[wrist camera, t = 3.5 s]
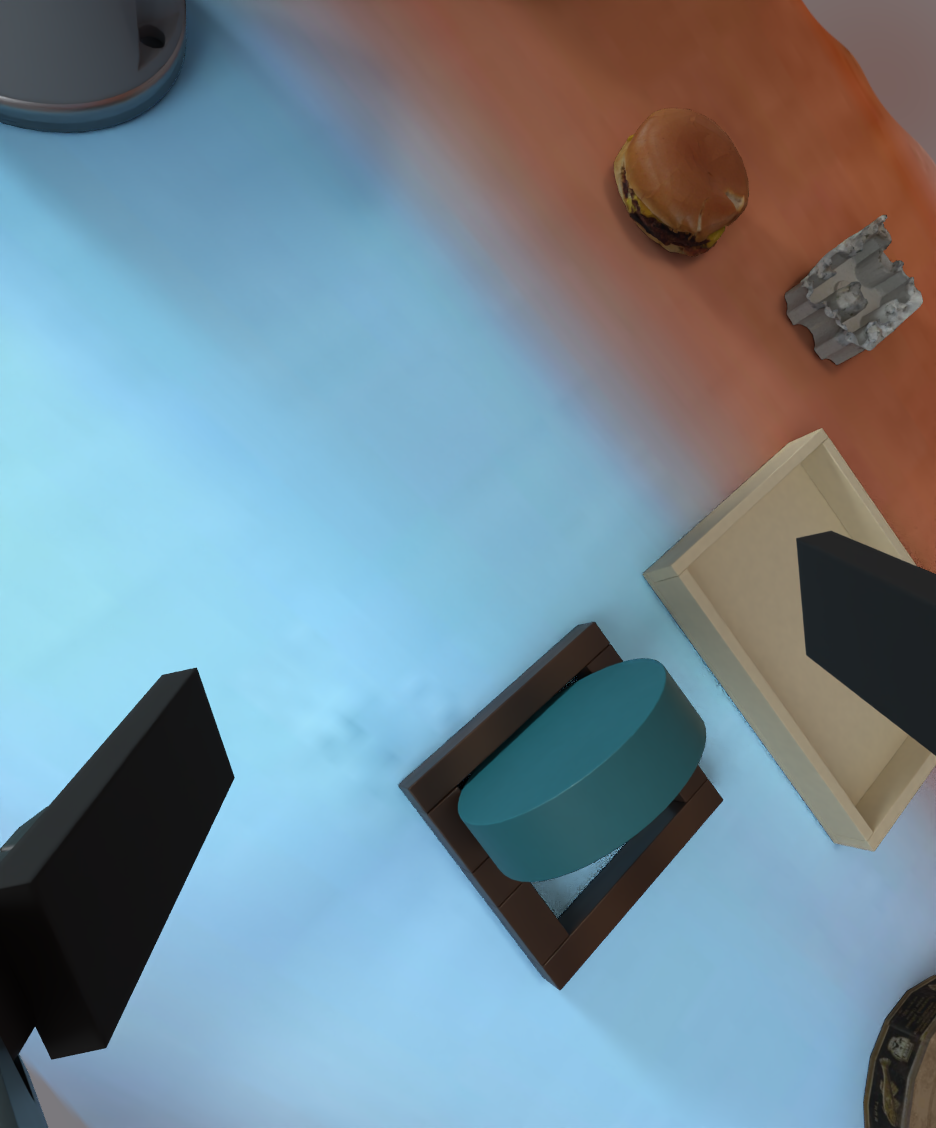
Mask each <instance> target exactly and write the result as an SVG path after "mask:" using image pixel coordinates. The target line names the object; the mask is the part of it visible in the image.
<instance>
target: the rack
mask: <svg viewBox="0 0 936 1128" xmlns="http://www.w3.org/2000/svg"><path fill="white" fill-rule="evenodd" d="M621 662H623V660H622V659H621V658H620V656H619V655H618V654H617V652H616V651H615V649H614V648H613V647H612V645H611V644H610V642H609V641H608V640H607V638H606V637H605V635H604V634H603V633H602V631H601V630H600V629H599V627H598V626H597V624H596V623H595V622H591V623H586V624H581V625H577V626H576V627H575V628H574V629H573V630H572V631H571V632H569V633H568V634H567V635H566V636H565V637H564V638H563V639H562V640H560V641H559V642H558V643H557V644H556V645H555V646H554V647H553V648H551V649H550V650H549V651H548V652H547V653H546V654H545V655H544V656H542V657H541V658H540V659H539V660H538V661H537V662H536V663H535V664H533V665H532V666H531V667H530V668H529V669H528V670H527V671H526V672H524V673H523V674H522V675H521V676H520V677H519V678H518V679H517V680H515V681H514V682H513V683H512V684H511V685H510V686H509V687H508V688H506V689H505V690H504V691H503V692H502V693H501V694H500V695H499V696H497V697H496V698H495V699H494V700H493V701H492V702H491V703H490V704H488V705H487V706H486V707H485V708H484V709H483V710H482V711H481V712H479V713H478V714H477V715H476V716H475V717H474V718H473V719H472V720H470V721H469V722H468V723H467V724H466V725H465V726H464V727H463V728H461V729H460V730H459V731H458V732H457V733H456V734H455V735H454V736H452V737H451V738H450V739H449V740H448V741H447V742H446V743H445V744H443V745H442V746H441V747H440V748H439V749H438V750H437V751H436V752H434V753H433V754H432V755H431V756H430V757H429V758H428V759H427V760H425V761H424V762H423V763H422V764H421V765H420V766H419V767H418V768H416V769H415V770H414V771H413V772H412V773H411V774H410V775H409V776H407V777H406V778H405V779H404V780H403V781H402V782H401V783H400V784H399V785H398V786H399V788H400V789H401V790H402V792H403V793H404V794H405V796H406V797H407V798H408V800H409V801H410V802H411V804H412V805H413V806H414V808H416V809H417V812H418V813H419V814H420V816H421V817H422V818H423V819H424V821H425V822H426V823H427V825H428V826H429V827H430V829H431V830H432V831H433V833H434V834H435V835H436V837H437V838H438V839H439V841H440V842H441V843H442V845H443V846H444V847H445V849H446V850H447V851H448V853H449V854H450V855H451V857H452V858H453V859H454V860H455V862H456V863H457V864H458V865H459V867H460V869H461V870H462V871H463V872H464V874H465V875H466V876H467V878H468V879H469V880H470V882H471V883H472V884H473V886H474V887H475V888H476V890H477V891H478V892H479V894H480V895H481V896H482V898H484V900H485V902H486V903H487V904H488V906H489V907H490V908H491V910H492V911H493V912H494V913H495V915H496V916H497V917H498V919H499V920H500V921H501V923H502V924H503V925H504V927H505V928H506V929H507V931H508V932H509V933H510V935H511V936H512V937H513V939H514V940H515V941H516V943H517V944H518V945H519V947H520V948H521V949H522V951H523V952H524V953H525V954H526V955H527V957H528V958H529V960H530V961H531V962H532V964H533V965H534V966H535V968H536V969H537V970H538V972H539V973H540V974H541V976H542V977H543V978H544V979H546V980H547V981H548V982H550V983H551V984H552V985H553V986H555V987H556V988H557V989H558V990H561V989H562V988H563V987H564V986H565V985H566V983H567V982H568V981H569V980H570V979H571V978H572V976H573V975H574V974H575V973H576V972H577V971H578V969H579V968H580V967H581V966H582V965H583V964H584V962H585V961H586V960H587V959H588V958H589V957H590V955H591V954H592V953H593V952H594V951H595V950H596V948H597V947H598V946H599V945H600V944H601V943H602V941H603V940H604V939H605V938H606V937H607V936H608V934H609V933H610V932H611V931H612V930H613V929H614V927H615V926H616V925H617V924H618V923H619V922H620V920H621V919H622V918H623V917H624V916H625V915H626V913H627V912H628V911H629V910H630V909H631V908H632V906H633V905H634V904H635V903H636V902H637V901H638V899H639V898H640V897H641V896H642V895H643V894H644V892H645V891H646V890H647V889H648V888H649V887H650V885H651V884H652V883H653V882H654V881H655V880H656V878H657V877H658V876H659V875H660V874H661V872H662V871H663V870H664V869H665V868H666V867H667V865H668V864H669V863H670V862H671V861H672V860H673V858H674V857H675V856H676V855H677V854H678V853H679V851H680V850H681V849H682V848H683V847H684V846H685V844H686V843H687V842H688V841H689V840H690V839H691V837H692V836H693V835H694V834H695V833H696V832H697V830H698V829H699V828H700V827H701V826H702V825H703V823H704V822H705V821H706V820H707V819H708V818H709V816H710V815H711V814H712V813H713V812H714V811H715V809H716V808H717V807H718V806H719V805H720V804H721V802H722V801H723V799H722V797H721V796H720V794H719V793H718V792H717V790H716V789H715V788H714V786H713V785H712V783H711V782H710V781H709V779H707V776H706V775H705V774H704V772H703V771H702V770H701V768H700V767H699V765H697V767H696V769H695V771H694V773H693V774H692V776H691V777H690V779H689V780H688V782H687V783H686V785H685V786H684V787H683V789H682V790H681V791H680V793H679V794H678V795H677V796H676V797H675V799H674V800H673V801H672V802H671V803H670V804H669V805H668V806H667V808H666V809H665V810H664V811H663V812H662V813H660V814H659V815H658V816H657V817H656V818H655V819H654V820H653V821H652V822H651V823H650V824H649V825H647V826H646V827H645V828H644V829H643V830H642V831H640V832H639V833H638V834H637V835H635V836H634V837H633V838H631V839H630V840H629V841H628V842H627V843H626V845H625V846H624V847H623V848H622V849H621V850H620V851H619V852H618V853H617V854H616V856H615V857H614V858H613V859H612V860H611V861H610V862H609V863H608V864H607V866H606V867H605V868H604V869H603V870H602V871H601V872H600V873H599V874H598V876H597V877H596V878H595V879H594V880H593V881H592V882H591V883H590V884H589V886H588V887H587V888H586V889H585V890H584V891H583V892H582V893H581V894H580V896H579V897H578V898H577V899H576V900H575V901H574V902H573V903H572V904H571V906H570V907H569V908H568V909H567V910H566V911H565V912H564V913H563V914H562V915H561V917H560V918H559V919H557V918H556V916H555V915H554V914H553V912H552V911H551V910H550V908H549V907H548V906H547V904H546V903H545V902H544V900H543V899H542V898H541V896H540V895H539V894H538V892H537V891H536V890H535V888H534V887H533V886H532V884H531V883H530V882H521V881H517V880H513V879H511V878H509V877H507V876H505V875H504V874H503V873H502V872H501V871H500V870H499V868H498V867H497V866H496V864H495V863H494V862H493V861H492V859H491V858H490V857H489V855H488V854H487V853H486V851H485V850H484V849H483V847H482V846H481V845H480V843H479V842H478V841H477V839H476V838H475V837H474V835H473V834H472V833H471V831H470V830H469V829H468V827H467V826H466V825H465V823H464V822H463V821H462V819H461V818H460V815H459V813H458V802H459V797H460V795H461V792H462V791H461V790H460V788H459V787H458V786H457V785H458V784H459V783H460V782H461V781H463V780H464V779H465V778H466V777H467V776H468V775H469V774H470V773H471V772H472V771H473V770H474V769H475V768H477V767H478V766H479V765H480V764H481V763H482V762H483V761H484V760H485V759H486V758H487V757H488V756H489V755H491V754H492V753H493V752H494V751H495V750H496V749H497V748H498V747H499V746H500V745H501V744H502V743H503V742H505V741H506V740H507V739H508V738H509V737H510V736H511V735H512V734H513V733H514V732H515V731H516V730H517V729H519V728H520V727H521V726H522V725H523V724H524V723H525V722H526V721H527V720H528V719H529V718H530V717H531V716H533V715H534V714H535V713H536V712H537V711H538V710H539V709H540V708H541V707H542V706H543V705H544V704H545V703H547V702H548V701H549V700H550V699H551V698H552V697H553V696H554V695H555V694H556V693H557V692H558V691H559V690H561V689H562V688H563V687H564V686H565V685H566V684H567V683H568V682H569V681H570V680H571V679H572V678H573V677H575V676H577V678H578V679H579V680H581V679H583V678H585V677H587V676H588V675H590V674H592V673H595V672H597V671H599V670H601V669H604V668H606V667H609V666H611V665H614V664H617V663H621Z"/></svg>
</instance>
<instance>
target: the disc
mask: <svg viewBox="0 0 936 1128" xmlns="http://www.w3.org/2000/svg"><path fill="white" fill-rule="evenodd" d="M705 742H706V728H705V725H704V722H703V720H702V719H701V717H700V716H699V714H698V713H697V712H696V710H695V709H694V707H693V706H692V705H691V703H690V702H689V700H688V699H687V698H686V696H685V695H684V693H683V692H682V691H681V689H680V688H679V687H678V685H677V684H676V682H675V681H674V680H673V678H672V677H671V675H670V674H669V673H668V671H667V670H666V668H665V667H664V666H663V665H662V664H661V663H660V662H658V661H656V660H653V659H645V658H641V659H633V660H628V661H624V662H621V663H617V664H614V665H611V666H609V667H606V668H604V669H601V670H599V671H597V672H595V673H592V674H590V675H588V676H587V677H585V678H583V679H581V680H579V681H577V682H575V683H574V684H572V685H570V686H568V687H567V688H565V689H564V690H562V691H560V692H559V693H557V694H556V695H554V696H553V697H552V698H551V699H550V700H549V701H548V702H547V703H545V704H544V705H543V706H542V707H541V708H540V709H539V710H538V711H537V712H536V713H535V714H534V715H533V716H531V717H530V718H529V719H528V720H527V721H526V722H525V723H524V724H523V725H522V726H521V727H520V728H519V729H517V730H516V731H515V732H514V733H513V734H512V735H511V736H510V737H509V738H508V739H507V740H506V741H505V742H503V743H502V744H501V745H500V746H499V747H498V748H497V749H496V750H495V751H494V752H493V753H492V754H491V755H489V756H488V757H487V758H486V759H485V760H484V761H483V762H482V763H481V764H480V765H479V766H478V767H477V768H475V769H474V771H473V772H472V773H471V775H470V777H469V778H468V780H467V782H466V783H465V785H464V787H463V789H462V792H461V795H460V797H459V802H458V813H459V815H460V818H461V819H462V821H463V822H464V823H465V825H466V826H467V827H468V829H469V830H470V831H471V833H472V834H473V835H474V837H475V838H476V839H477V841H478V842H479V843H480V845H481V846H482V847H483V849H484V850H485V851H486V853H487V854H488V855H489V857H490V858H491V859H492V861H493V862H494V863H495V864H496V866H497V867H498V868H499V870H500V871H501V872H502V873H503V874H504V875H505V876H507V877H509V878H511V879H513V880H517V881H521V882H537V881H545V880H549V879H553V878H558V877H561V876H563V875H566V874H569V873H572V872H574V871H577V870H579V869H581V868H583V867H586V866H588V865H590V864H592V863H594V862H595V861H597V860H599V859H601V858H603V857H605V856H606V855H608V854H609V853H611V852H612V851H614V850H616V849H617V848H619V847H620V846H622V845H623V844H625V843H626V842H627V841H629V840H630V839H631V838H633V837H634V836H635V835H637V834H638V833H639V832H640V831H642V830H643V829H644V828H645V827H646V826H647V825H649V824H650V823H651V822H652V821H653V820H654V819H655V818H656V817H657V816H658V815H659V814H660V813H662V812H663V811H664V810H665V809H666V808H667V806H668V805H669V804H670V803H671V802H672V801H673V800H674V799H675V797H676V796H677V795H678V794H679V793H680V791H681V790H682V789H683V787H684V786H685V785H686V783H687V782H688V780H689V779H690V777H691V776H692V774H693V773H694V771H695V769H696V767H697V765H698V763H699V761H700V759H701V757H702V754H703V751H704V748H705Z"/></svg>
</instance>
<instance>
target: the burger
mask: <svg viewBox="0 0 936 1128" xmlns="http://www.w3.org/2000/svg"><path fill="white" fill-rule="evenodd" d="M614 174H615V179H616V183H617V186H618V190H619V193H620V195H621V197H622V200H623V202H624V204H625V205H626V208H627V211H628V213H629V214H630V217H631V218H632V219H633V220H634V221H635V222H636V224H637V226H638V227H640V229H641V230H642V231H643V232H644V233H645V234H646V235H647V236H648V237H649V238H651V239H652V240H653V241H655V242H656V243H659V244H661V246H662V247H663V248H665V249H666V250H667V251H669V252H677V253H681V254H685V255H687V256H697V255H698V254H699V253H705V252H707V251H708V250H709V249H710V248H711V247H713V246H714V245H715V244H716V242H717V240H718V239H719V238H720V237H721V235H722V234H723V232H724V230H725V226H729V225H730V224H731V223H733V222H734V221H735V220H736V219H737V218H738V217H739V216H740V215H741V214H742V212H743V211H744V210H745V208H746V206H747V202H748V197H749V188H748V178H747V174H746V170H745V167H744V164H743V161H742V159H741V157H740V155H739V153H738V151H737V149H736V147H735V146H734V144H733V143H732V141H731V139H730V138H729V136H728V135H727V134H726V133H725V132H724V131H723V130H722V129H721V128H720V127H719V126H718V125H717V124H716V123H715V122H713V121H712V120H710V119H709V118H707V117H706V116H703V115H701V114H699V113H696V112H694V111H692V110H690V109H681V108H666V109H662V110H659V111H657V112H654V113H652V114H651V115H650V116H649V117H648V118H647V120H645V121H644V122H643V123H642V125H641V126H640V127H639V129H638V130H637V131H636V133H635V134H634V135H631V136H629V138H628V139H627V141H626V143H625V144H624V146H623V147H622V149H621V150H620V152H619V154H618V156H617V157H616V159H615V162H614Z"/></svg>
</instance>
